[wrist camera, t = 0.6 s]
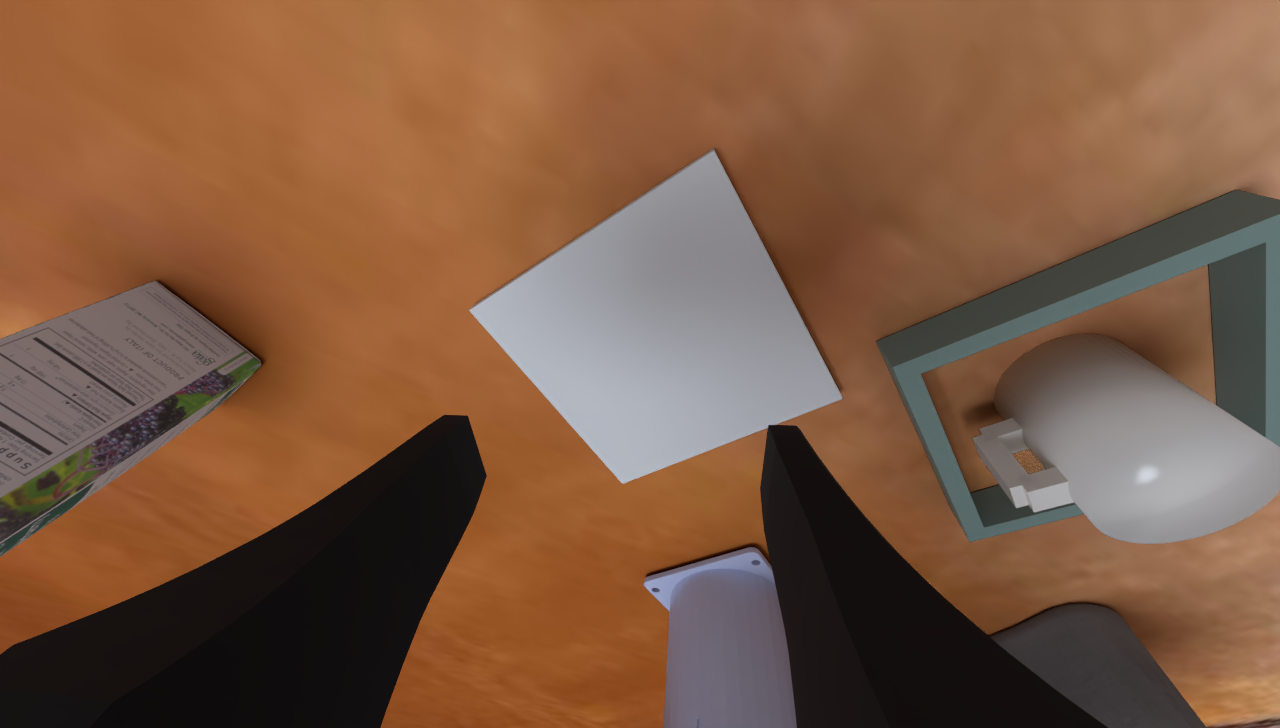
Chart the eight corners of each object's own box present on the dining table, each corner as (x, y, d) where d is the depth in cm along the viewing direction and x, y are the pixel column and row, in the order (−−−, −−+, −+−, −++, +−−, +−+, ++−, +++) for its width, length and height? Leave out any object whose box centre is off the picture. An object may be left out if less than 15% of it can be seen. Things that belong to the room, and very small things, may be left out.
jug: (1124, 312, 18) (1291, 409, 13) (1139, 404, 20) (1288, 518, 15) (940, 381, 20) (1020, 484, 15) (969, 456, 22) (1048, 569, 17)
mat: (840, 392, 21) (842, 398, 21) (623, 476, 26) (622, 483, 25) (713, 148, 16) (713, 150, 16) (473, 305, 21) (468, 310, 20)
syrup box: (220, 409, 26) (-198, 707, 14) (111, 332, 24) (-497, 608, 12) (267, 361, 24) (-183, 669, 12) (152, 272, 22) (-551, 537, 9)
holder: (1242, 429, 20) (1292, 462, 18) (951, 509, 24) (969, 542, 23) (1236, 189, 15) (1302, 204, 14) (876, 341, 20) (892, 367, 18)
